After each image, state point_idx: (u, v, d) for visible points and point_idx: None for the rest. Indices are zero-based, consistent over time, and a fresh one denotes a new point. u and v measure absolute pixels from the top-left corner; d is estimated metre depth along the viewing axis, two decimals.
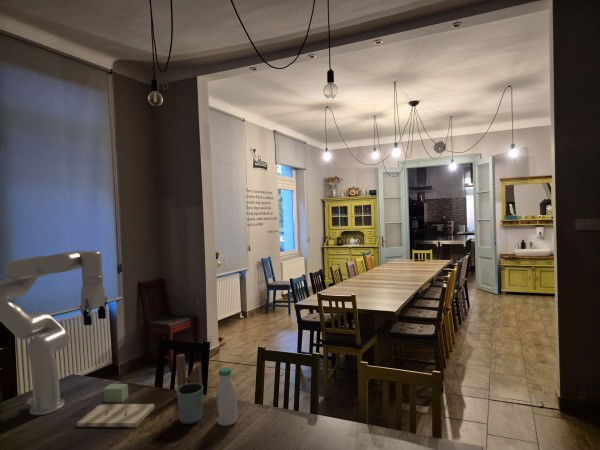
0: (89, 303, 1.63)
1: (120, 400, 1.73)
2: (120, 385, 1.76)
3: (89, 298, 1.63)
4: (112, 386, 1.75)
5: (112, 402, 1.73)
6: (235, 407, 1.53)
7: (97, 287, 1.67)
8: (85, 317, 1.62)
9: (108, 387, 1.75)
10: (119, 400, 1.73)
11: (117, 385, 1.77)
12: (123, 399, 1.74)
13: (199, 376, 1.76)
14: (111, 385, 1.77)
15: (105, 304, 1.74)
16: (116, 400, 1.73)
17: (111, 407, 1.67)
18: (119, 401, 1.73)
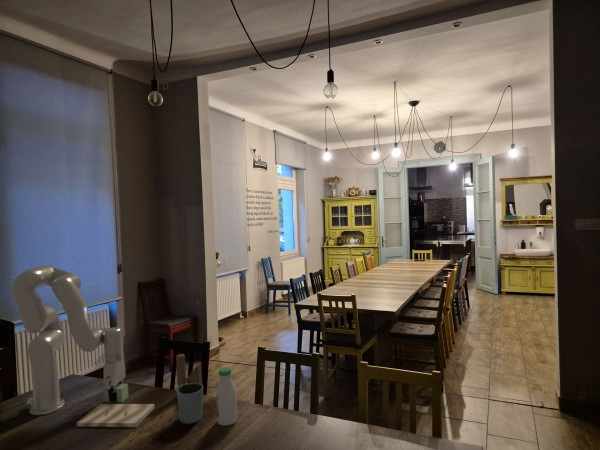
0: (111, 380, 1.71)
1: (120, 400, 1.73)
2: (120, 385, 1.76)
3: (111, 376, 1.71)
4: (112, 386, 1.75)
5: (112, 402, 1.74)
6: (235, 407, 1.53)
7: (119, 363, 1.74)
8: (110, 394, 1.72)
9: None
10: (119, 400, 1.73)
11: (117, 385, 1.77)
12: (123, 399, 1.74)
13: (199, 376, 1.76)
14: None
15: (123, 380, 1.80)
16: None
17: (111, 407, 1.67)
18: (119, 401, 1.73)
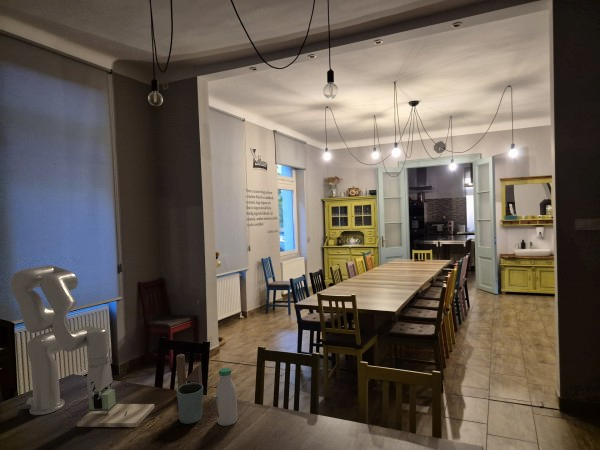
0: (96, 386, 1.56)
1: (106, 407, 1.59)
2: (106, 391, 1.62)
3: (95, 381, 1.56)
4: None
5: (98, 409, 1.59)
6: (235, 407, 1.53)
7: (104, 366, 1.60)
8: (95, 401, 1.58)
9: None
10: (105, 407, 1.59)
11: (103, 391, 1.62)
12: (110, 406, 1.60)
13: (199, 376, 1.76)
14: None
15: (109, 386, 1.66)
16: (102, 407, 1.59)
17: None
18: (105, 408, 1.59)
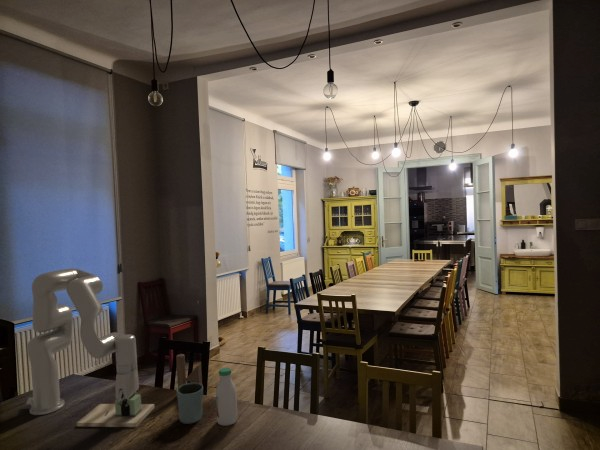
0: (124, 393, 1.55)
1: (133, 412, 1.58)
2: (132, 396, 1.61)
3: (124, 388, 1.55)
4: None
5: None
6: (235, 407, 1.53)
7: (132, 373, 1.59)
8: (123, 408, 1.57)
9: None
10: (132, 412, 1.58)
11: None
12: (136, 411, 1.59)
13: (199, 376, 1.76)
14: (123, 396, 1.62)
15: (136, 392, 1.65)
16: None
17: (111, 407, 1.67)
18: (132, 414, 1.58)
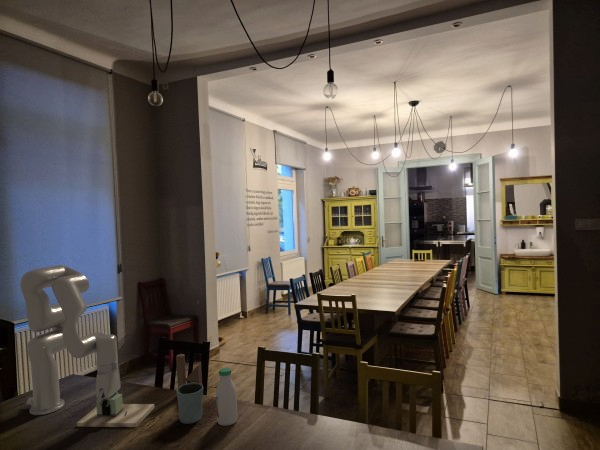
0: (105, 392, 1.56)
1: (114, 412, 1.59)
2: (113, 396, 1.62)
3: (104, 388, 1.56)
4: None
5: None
6: (235, 407, 1.53)
7: (113, 373, 1.60)
8: (104, 407, 1.57)
9: None
10: (113, 412, 1.59)
11: None
12: (117, 411, 1.59)
13: (199, 376, 1.76)
14: None
15: (118, 392, 1.66)
16: None
17: None
18: (113, 413, 1.59)
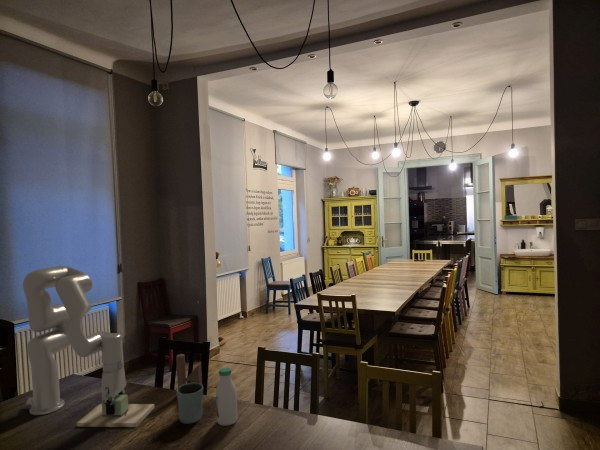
0: (110, 391, 1.56)
1: (119, 413, 1.58)
2: (119, 396, 1.61)
3: (110, 386, 1.56)
4: (110, 398, 1.61)
5: (110, 415, 1.59)
6: (235, 407, 1.53)
7: (118, 372, 1.60)
8: (108, 407, 1.56)
9: None
10: (118, 413, 1.58)
11: (116, 396, 1.62)
12: (122, 412, 1.59)
13: (199, 376, 1.76)
14: None
15: (124, 389, 1.66)
16: (115, 413, 1.59)
17: None
18: (118, 414, 1.58)
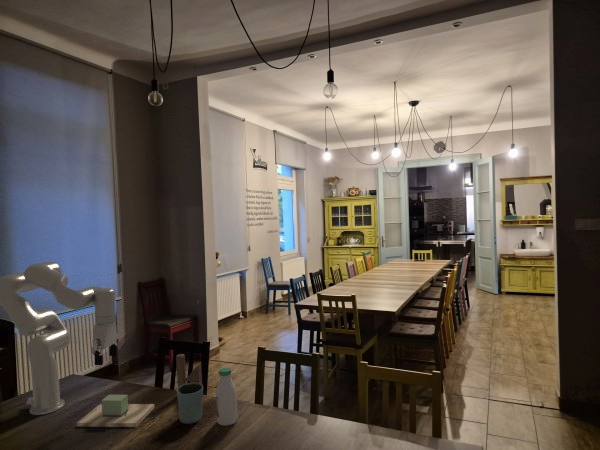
0: (101, 343, 1.60)
1: (119, 413, 1.58)
2: (119, 396, 1.61)
3: (101, 338, 1.60)
4: (110, 398, 1.61)
5: (110, 415, 1.59)
6: (235, 407, 1.53)
7: (110, 325, 1.64)
8: (96, 357, 1.60)
9: (106, 398, 1.60)
10: (118, 413, 1.58)
11: (116, 396, 1.62)
12: (122, 412, 1.59)
13: (199, 376, 1.76)
14: (109, 396, 1.62)
15: (117, 341, 1.72)
16: (115, 413, 1.59)
17: None
18: (118, 414, 1.58)
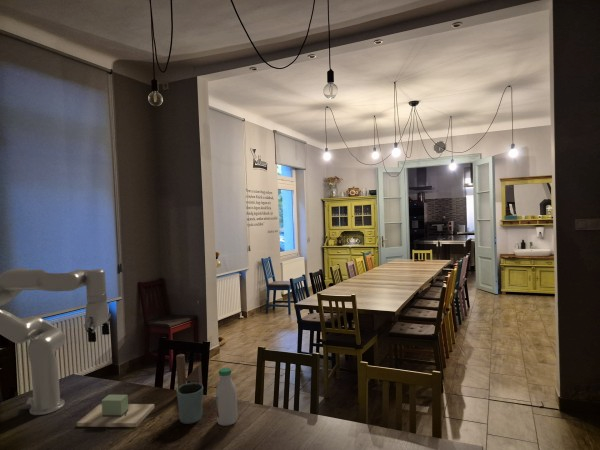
0: (93, 320, 1.68)
1: (119, 413, 1.58)
2: (119, 396, 1.61)
3: (93, 316, 1.68)
4: (110, 398, 1.61)
5: (110, 415, 1.59)
6: (235, 407, 1.53)
7: (101, 304, 1.72)
8: (90, 334, 1.68)
9: (106, 398, 1.60)
10: (118, 413, 1.58)
11: (116, 396, 1.62)
12: (122, 412, 1.59)
13: (199, 376, 1.76)
14: (109, 396, 1.62)
15: (109, 320, 1.80)
16: (115, 413, 1.59)
17: None
18: (118, 414, 1.58)
